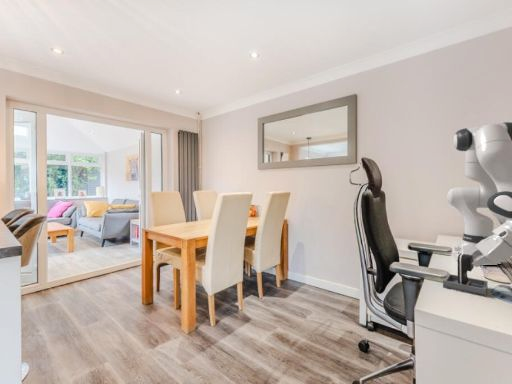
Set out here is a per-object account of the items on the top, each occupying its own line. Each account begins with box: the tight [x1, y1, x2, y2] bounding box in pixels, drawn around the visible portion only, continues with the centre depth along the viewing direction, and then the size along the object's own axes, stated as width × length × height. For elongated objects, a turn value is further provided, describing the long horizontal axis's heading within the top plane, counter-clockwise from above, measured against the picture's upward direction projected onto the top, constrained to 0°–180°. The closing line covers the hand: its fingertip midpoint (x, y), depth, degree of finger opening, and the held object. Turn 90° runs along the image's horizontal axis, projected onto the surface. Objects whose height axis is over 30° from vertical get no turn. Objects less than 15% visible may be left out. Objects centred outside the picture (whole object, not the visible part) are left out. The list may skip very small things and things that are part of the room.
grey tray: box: [442, 273, 488, 298], centre depth 92 cm, size 12×12×2 cm
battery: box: [457, 254, 475, 286], centre depth 92 cm, size 7×4×11 cm, turn 131°
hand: (471, 261), depth 91 cm, fingers open, 8 cm apart
